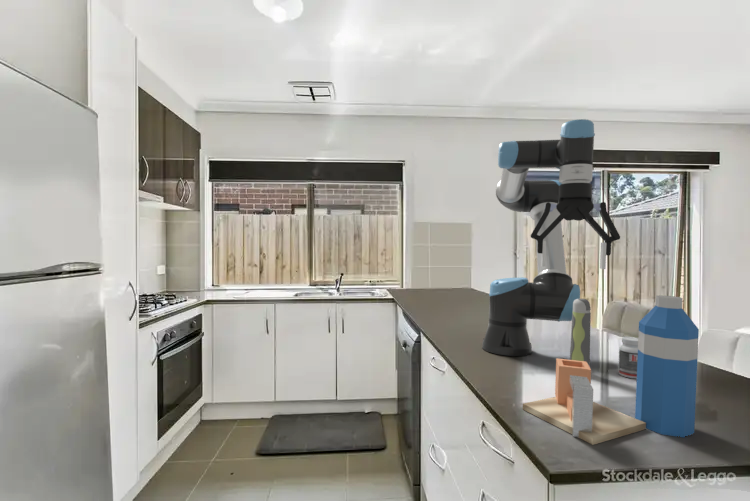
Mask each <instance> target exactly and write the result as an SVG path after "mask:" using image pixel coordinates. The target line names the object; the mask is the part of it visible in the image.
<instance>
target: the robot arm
mask: <svg viewBox="0 0 750 501" xmlns="http://www.w3.org/2000/svg"><path fill="white" fill-rule="evenodd" d="M560 127H561V129H560V134H559V137H560V139H543V140H541V139H540V140H539V139H536V140H510V141H503V142H501V143H499V145H498V155H497V156H498V158H497V159H498V160H497V163H498V164H497V165H498V167H499V168H500V169H502V172H501V176H500V180H499V182H498V183H497V185H496V187H495V197H496V198H497V200H498V202H499V203H500V204H501V205H502V206H503V207H505V208H506V209H508V210H510V211H514V212H518V213H529V216H530V218H531V219H532V220H533V221H534V228H533V230H532V232H531V234H530V238H531V239H534V240H535V248H536V251H535V252H536V262H537V275H535V276H534V277H533V282H530V281H529V279H528V277H505V278H499V279H495V280H493V281H491V282H490V287H489V294H488V296H489V308H488V325H487V328H486V332H485V334H484V338H483V339H482V350H484V351H486V352H489V353H492V354H496V355H500V356H508V357H510V356H511V357H521V356H522V357H523V356H528V355H531V354H532V343H531V342H530V336H529V332H528V329H527V320H540V321H551V322H552V321H553V322H558V323H559V322H572V312H573V302H574V300H576V299H581V288H580V287H581V286H580V285H579V284H577V283H573V278H572V276H571V275H569V273H567V267H566V266H567V265H566V256H565V248H564V236H563V228H562V227H563V226H562V221H563V220H565V221H568V222H569V221H577V222H578V221H585V222H586V223H588V224H589V226H590V227H591V228H592V229H593V230H594V231H595V232H596V233H597V235H598V236H599V237H600V238H601V239H602V240H603V241H604V242H600V252H599V254H600V257H599V269H601V270H606V265H607V264H606V263H607V261H606V260H607V256H610V255H611V254H612V252H611V251H612V243H613V242H615V241H618V240H621V236H620V234H619V232H618V229H617V228H616V226H615V224H614V222H613V219H611V216H610V214H609V213H608V211H607V203H606V202H605V201H602V202H599V203H593V198H592V197H593V184H592V183H591V182H592V181H593V168H594V166H593V165H594V163H593V162H594V145H595V144H594V143H595V135H596V133H595V124H594V122H593V121H592V120H589V119H584V118H583V119H572V120H569V121H566V122H564V123H563V124H562V125H561V126H560ZM543 168H544V169H546V168H548V169H549V168H552V169H553V168H555V169H558V170H559V175H558V180H557V179H556V180H555V179H549V180H526V178H527V176H528V173H529V170H530V169H543ZM593 209H595V211H596V212H598V213H599V215H600V217H601V219H602V221H603V223H604V225H605V227H606V228H607V230H608V232H609V234H610V235H609V234H608V232H606V231H605V230H604V228H602V226H601V225H600V224H599V223H598V222H597V221H596V220H595V219H594V217H593V216H592V215H591V214H590V213H591V211H593Z"/></svg>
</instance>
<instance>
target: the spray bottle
mask: <svg viewBox="0 0 750 501" xmlns="http://www.w3.org/2000/svg"><path fill="white" fill-rule="evenodd" d="M591 316H592V312H591V304H590V302H589V300H588V299H587V298H580V299H576V300H574V302H573V312H572V321H571V330H570V331H571V334H570V349H569V350H570V351H569V360H576V361H586V362H587V363H588V365H589V367H590V368H591V366H590V364H591V363H590V361H591Z"/></svg>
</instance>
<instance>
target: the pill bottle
mask: <svg viewBox="0 0 750 501" xmlns="http://www.w3.org/2000/svg"><path fill="white" fill-rule="evenodd" d="M621 343H622V344H621V345H620V346H619V349H618V368H617V372H618V374H619V375H620V376H622V377H625V378H629V379H635V380H637V359H638V337H633V336H622V337H621Z"/></svg>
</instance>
